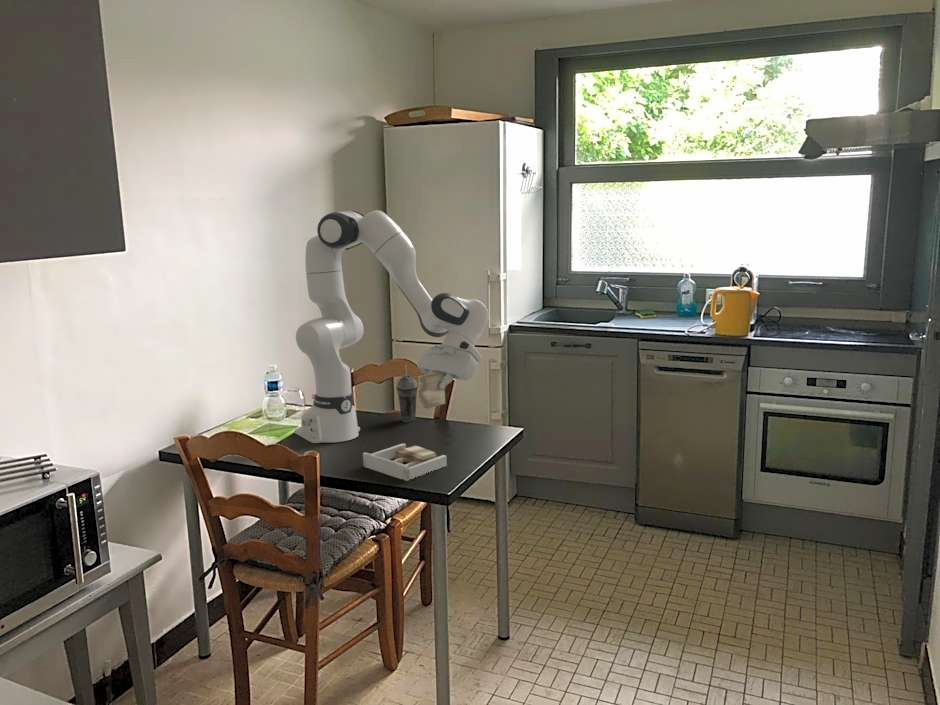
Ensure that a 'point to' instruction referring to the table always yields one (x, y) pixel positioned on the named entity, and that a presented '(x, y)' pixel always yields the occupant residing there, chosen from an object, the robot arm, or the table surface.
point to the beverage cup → (407, 397)
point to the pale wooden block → (430, 390)
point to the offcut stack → (415, 454)
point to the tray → (400, 464)
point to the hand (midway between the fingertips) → (433, 387)
